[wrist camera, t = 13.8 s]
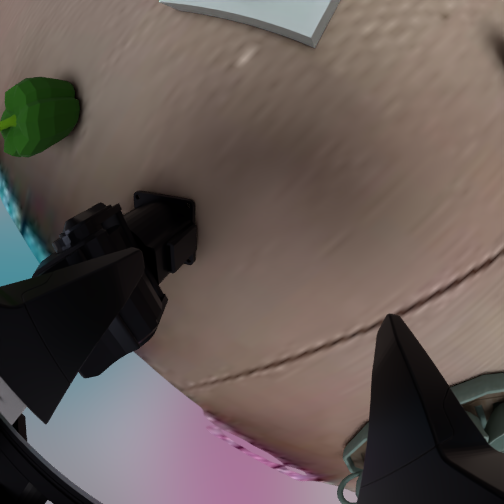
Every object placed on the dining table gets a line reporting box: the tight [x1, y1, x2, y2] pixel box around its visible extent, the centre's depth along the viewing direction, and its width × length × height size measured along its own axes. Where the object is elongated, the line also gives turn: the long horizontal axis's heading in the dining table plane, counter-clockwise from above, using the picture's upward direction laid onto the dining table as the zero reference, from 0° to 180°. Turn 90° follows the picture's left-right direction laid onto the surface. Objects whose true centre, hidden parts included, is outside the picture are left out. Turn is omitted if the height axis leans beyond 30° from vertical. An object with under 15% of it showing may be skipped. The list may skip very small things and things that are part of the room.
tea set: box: [337, 373, 504, 504], centre depth 24 cm, size 40×40×16 cm
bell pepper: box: [0, 77, 80, 157], centre depth 18 cm, size 8×8×10 cm
